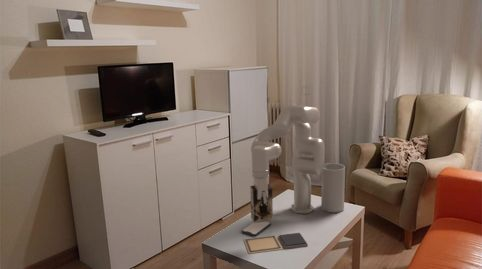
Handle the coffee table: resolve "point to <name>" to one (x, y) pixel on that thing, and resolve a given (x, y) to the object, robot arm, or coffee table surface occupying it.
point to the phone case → (255, 228)
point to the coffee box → (255, 206)
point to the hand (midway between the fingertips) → (261, 209)
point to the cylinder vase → (333, 187)
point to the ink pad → (292, 240)
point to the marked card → (262, 244)
